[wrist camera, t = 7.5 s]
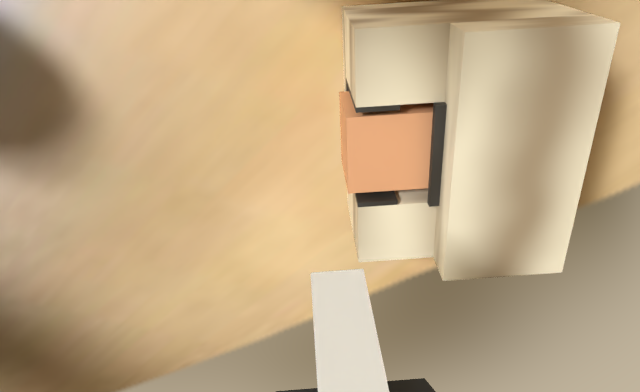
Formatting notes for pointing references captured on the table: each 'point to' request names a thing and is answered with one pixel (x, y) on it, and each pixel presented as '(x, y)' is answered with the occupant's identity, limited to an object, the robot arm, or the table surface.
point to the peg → (385, 147)
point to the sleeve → (481, 128)
